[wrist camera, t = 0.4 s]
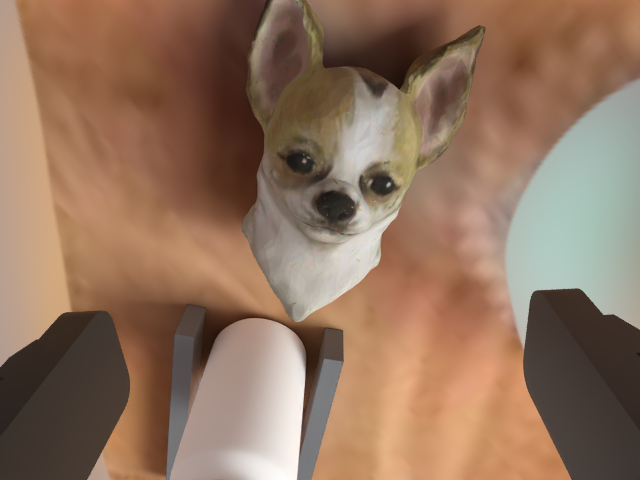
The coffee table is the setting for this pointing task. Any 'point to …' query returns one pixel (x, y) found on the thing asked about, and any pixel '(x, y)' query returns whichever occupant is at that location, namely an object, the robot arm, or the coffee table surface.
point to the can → (246, 407)
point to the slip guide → (187, 384)
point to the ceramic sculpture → (339, 151)
